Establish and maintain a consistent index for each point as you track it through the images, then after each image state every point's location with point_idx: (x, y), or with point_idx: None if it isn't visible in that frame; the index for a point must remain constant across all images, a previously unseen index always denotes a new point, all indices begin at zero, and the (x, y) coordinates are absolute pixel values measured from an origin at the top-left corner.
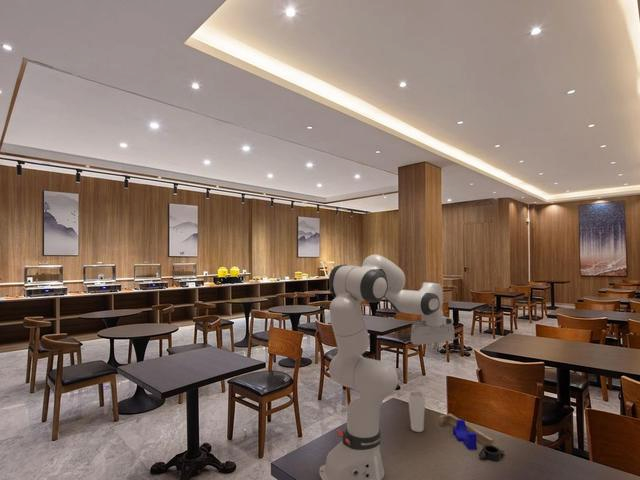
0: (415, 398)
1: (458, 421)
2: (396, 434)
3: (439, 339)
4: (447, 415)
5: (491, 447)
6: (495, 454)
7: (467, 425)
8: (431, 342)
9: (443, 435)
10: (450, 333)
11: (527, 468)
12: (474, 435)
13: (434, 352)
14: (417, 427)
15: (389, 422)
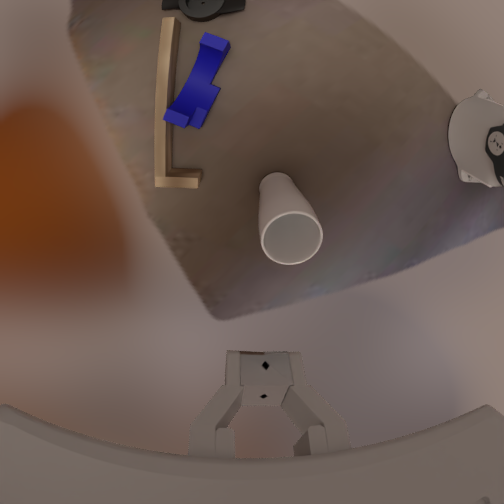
0: (317, 219)
1: (187, 116)
2: (340, 195)
3: (204, 492)
4: (171, 180)
5: (188, 9)
6: None
7: (163, 105)
8: (348, 457)
9: (234, 130)
10: (7, 489)
11: None
12: (210, 34)
13: (263, 355)
14: (290, 179)
15: None
